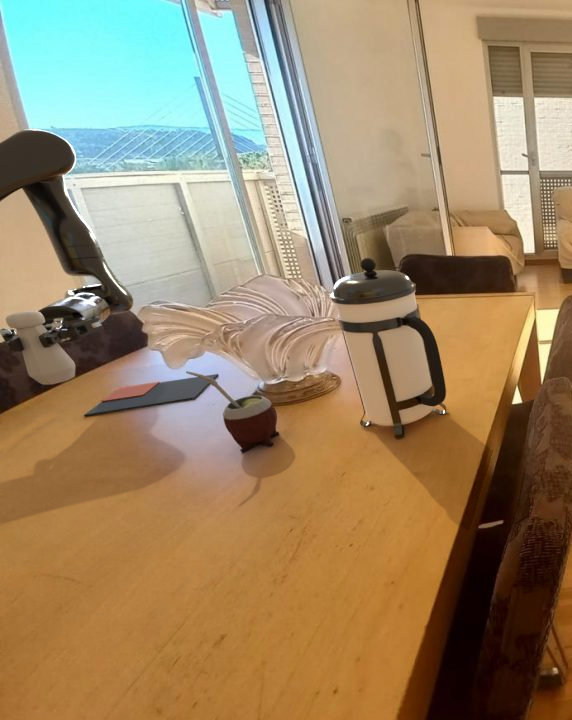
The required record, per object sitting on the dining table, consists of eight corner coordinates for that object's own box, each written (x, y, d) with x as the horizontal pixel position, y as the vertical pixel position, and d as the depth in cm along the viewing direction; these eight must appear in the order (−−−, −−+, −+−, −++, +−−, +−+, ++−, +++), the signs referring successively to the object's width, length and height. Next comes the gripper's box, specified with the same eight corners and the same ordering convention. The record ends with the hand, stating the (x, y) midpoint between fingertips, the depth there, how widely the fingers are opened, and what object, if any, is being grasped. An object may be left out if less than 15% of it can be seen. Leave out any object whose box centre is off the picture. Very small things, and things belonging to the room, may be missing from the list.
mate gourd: (293, 436, 84) (266, 358, 78) (247, 460, 77) (213, 377, 71) (266, 428, 87) (237, 353, 81) (219, 452, 80) (184, 371, 74)
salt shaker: (26, 385, 86) (-14, 316, 80) (67, 372, 91) (32, 307, 86) (49, 388, 84) (10, 318, 79) (88, 374, 89) (54, 308, 84)
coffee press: (347, 449, 79) (293, 272, 68) (373, 405, 94) (333, 253, 82) (454, 435, 82) (420, 263, 71) (463, 394, 97) (437, 246, 85)
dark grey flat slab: (84, 416, 94) (83, 413, 93) (121, 389, 105) (120, 387, 105) (195, 399, 99) (194, 396, 99) (218, 375, 110) (217, 373, 110)
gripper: (10, 306, 91) (-45, 331, 77) (109, 295, 98) (75, 316, 84) (30, 343, 94) (-19, 373, 80) (124, 329, 100) (94, 355, 87)
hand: (29, 344), depth 82 cm, fingers closed on salt shaker, 3 cm apart
